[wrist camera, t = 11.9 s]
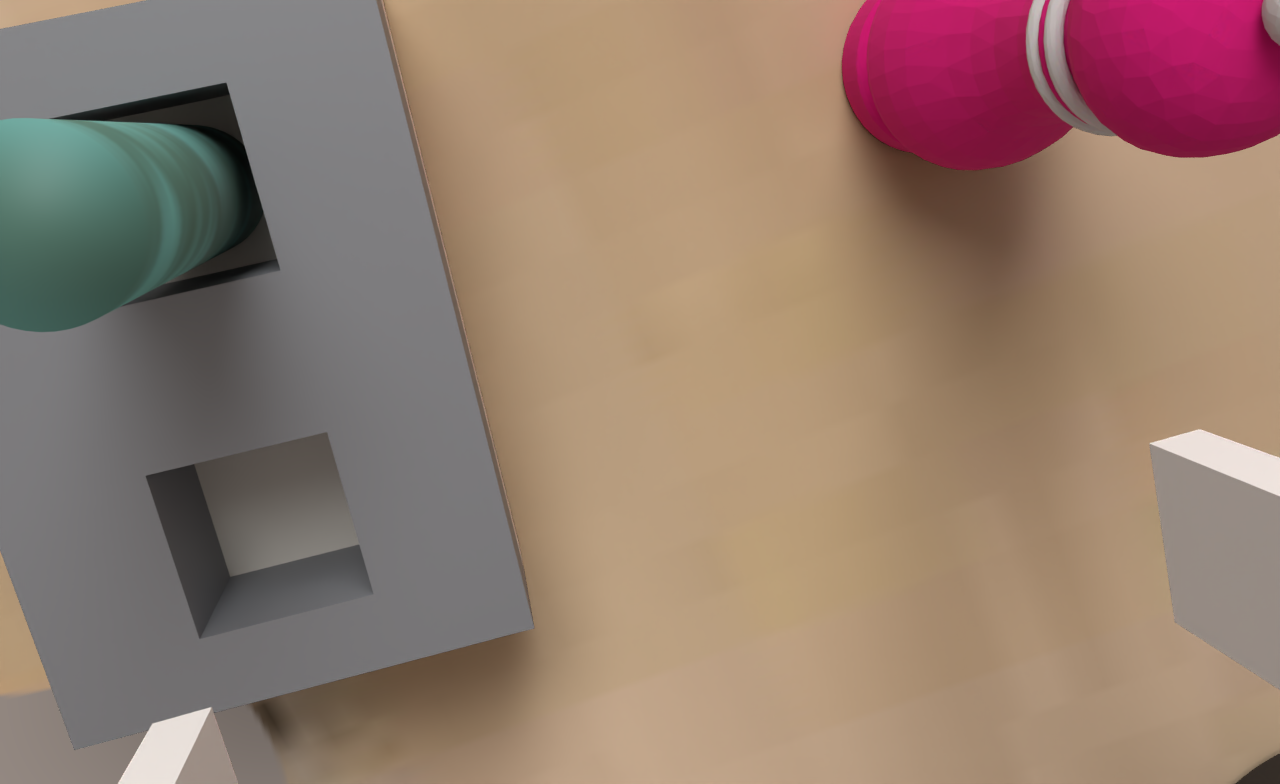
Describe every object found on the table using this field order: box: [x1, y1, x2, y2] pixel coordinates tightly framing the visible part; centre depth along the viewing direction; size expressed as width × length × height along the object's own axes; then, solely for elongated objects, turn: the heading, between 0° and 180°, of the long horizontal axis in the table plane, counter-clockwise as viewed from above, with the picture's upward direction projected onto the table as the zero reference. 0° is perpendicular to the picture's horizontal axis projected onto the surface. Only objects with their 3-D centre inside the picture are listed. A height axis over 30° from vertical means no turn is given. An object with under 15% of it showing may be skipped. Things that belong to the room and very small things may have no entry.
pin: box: [0, 118, 263, 332], centre depth 29 cm, size 4×4×15 cm
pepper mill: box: [842, 0, 1280, 170], centre depth 31 cm, size 7×7×20 cm
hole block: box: [0, 0, 534, 750], centre depth 36 cm, size 20×14×7 cm
